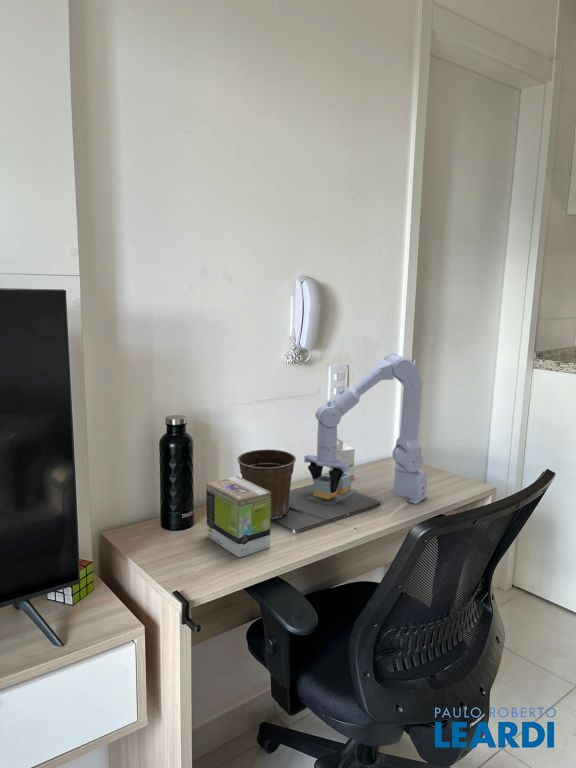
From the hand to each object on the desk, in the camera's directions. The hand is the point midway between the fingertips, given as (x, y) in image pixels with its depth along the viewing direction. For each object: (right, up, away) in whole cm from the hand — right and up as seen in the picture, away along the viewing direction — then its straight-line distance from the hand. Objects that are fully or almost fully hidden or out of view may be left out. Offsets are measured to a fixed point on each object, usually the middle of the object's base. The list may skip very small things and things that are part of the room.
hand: (325, 489), depth 172 cm
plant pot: (-17, -5, -7) cm, 20 cm away
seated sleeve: (+5, -1, +7) cm, 8 cm away
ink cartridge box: (+6, -1, +19) cm, 20 cm away
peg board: (+2, -3, +4) cm, 6 cm away
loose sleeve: (0, -2, 0) cm, 2 cm away
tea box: (-24, -9, -26) cm, 36 cm away
